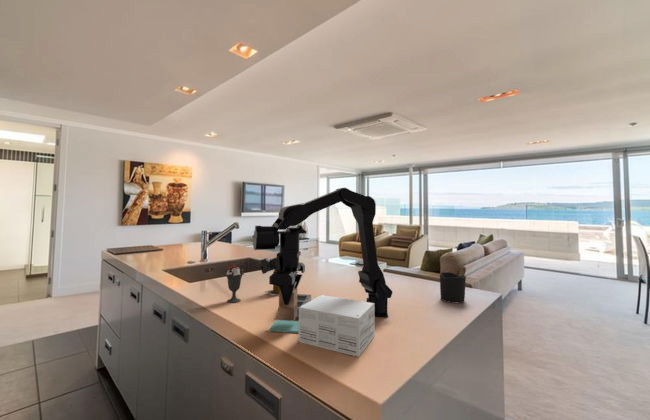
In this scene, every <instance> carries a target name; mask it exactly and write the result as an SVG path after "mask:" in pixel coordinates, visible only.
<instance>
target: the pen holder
mask: <svg viewBox="0 0 650 420" xmlns="http://www.w3.org/2000/svg"><path fill="white" fill-rule="evenodd" d="M466 279H467V277H466V275H458V274H456V273H454V272H447V271H446V272H440V273H439V287H440V288H439V289H440V293H439V294H440V299H441V300H442V299H443V300H442V301H444V300H446V301H445V302H447V301H450V302H449V303H452V302H462V303H464V302H465V298H466V297H465V296H466V281H467V280H466ZM463 301H464V302H463Z"/></svg>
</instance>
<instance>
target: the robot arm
mask: <svg viewBox="0 0 650 420" xmlns="http://www.w3.org/2000/svg"><path fill="white" fill-rule="evenodd" d="M338 203H342V204H343V205H345V206H346V207H347V208H350V209H351V212H352V216H353V218H354V219H355V222H356V223H357V226H358V233H359V241H360V249H361V256H362V257H361V258H362V263H363V265H362V268H361V270H358V272H357V275H358V278H359V279H358V283H360V284H361V286H362V288H364V289H363V290H364V292H365V293H366V294H368V296H367V297H366V301H365V302H369V303H375V304H374V307H375V312H374V317H381V318H388V317H389V313H388V299H391V298H392V295H393V291H392V288H390V287H389V286H388V285H387V284H386V283H387V282H386V279H385V275H384V272H383V270H382V269H381V268H380V266H379V262H378V254H377V247H376V239H375V232H374V231H375V230H374V223H373V222H374V219H375V216H376V208H377V204H376V201H375V198H374V197H372V196H369V195H364V194H362V193H359V192H355V191H353V190H351V189H349V188H347V187H340V188H336V189H335V190H333V191H330V192H329V193H326V194H324V195H323V194H322V195H321V196H319V197H316V198H314V199H311V200H308V201H307V202H302V203H297V204H291V205H287V206H284V207H281V208H280V210H279V212H278V218H277V219H275V221H274V222H273V223H272V224H271V225H270V226H267V225H266V226H265V225H264V226H263V225H255V226H254V231H253V236H252V246H253V250H254V251H261V250H262V251H265V250H266V251H267V250H275V249H276V248H277V247H278V246H279V252H277V253H276V256H275V257H273V258H270V259H269V258H268V257H266V258H263V259H260V263H259V264H258V270H260V271H261V273H262V275H263V274H267V273H268V272H271V271H274V270H275V269H276V272H274V273H272V274H271V275H270V276H269V278H268V280H269V283H268V284H269V285H272V286H273V285H277V286H279V287H280V290H281V293H282V297H283V301H284V304H285V305H288V304H289V301H290V299H291V296H292V293H293V290H294V288H296V289H298V286H299V284H300V282H301V279H302V277H303V274H304V273H305V272H306V264H304V263H303V262H300V256H301V253H302V252H301V251H300V234H307V230H306V229H305V228H303V226H302V225H301V224H302V223H303V222H304V221H305V220H307V219H308V218H309V217H310V216H311V215H313V214H316V213H317V212H320V211H322V210H325V209H327V208H329V207H331V206H333V205H336V204H338ZM294 226H295V227H294ZM296 226H297V227H296ZM299 272H301V274H299Z"/></svg>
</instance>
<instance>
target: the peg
mask: <svg viewBox="0 0 650 420" xmlns="http://www.w3.org/2000/svg"><path fill="white" fill-rule="evenodd" d="M297 294H298V288H297V289H296V288H294V290H293V293H292V296H291V299H290V301H289V304H288V305H285V304H284V301H283V297H282V293H281V291H280V292H279V295H278V307H279V317H278V320H286V321H295V320H296V319H297V318H296V316H297Z"/></svg>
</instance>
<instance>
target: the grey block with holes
mask: <svg viewBox="0 0 650 420" xmlns="http://www.w3.org/2000/svg"><path fill="white" fill-rule="evenodd" d="M311 300H312V294H305V293H304V294H302V293H297V316H296V318H295V319H298V320H299V307H300V306H302V305H304V304H306V303H308V302H309V301H311ZM277 317H278V318H279V306H278V308H277Z"/></svg>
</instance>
